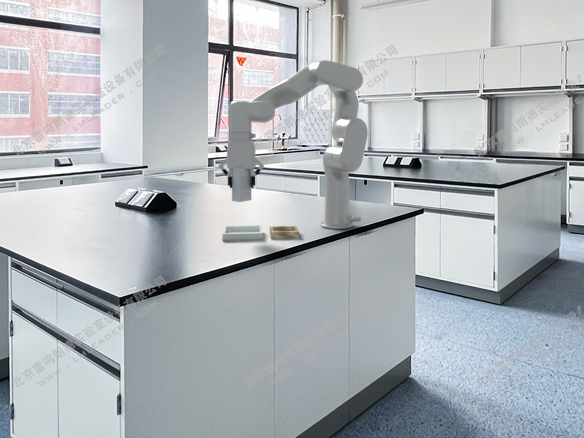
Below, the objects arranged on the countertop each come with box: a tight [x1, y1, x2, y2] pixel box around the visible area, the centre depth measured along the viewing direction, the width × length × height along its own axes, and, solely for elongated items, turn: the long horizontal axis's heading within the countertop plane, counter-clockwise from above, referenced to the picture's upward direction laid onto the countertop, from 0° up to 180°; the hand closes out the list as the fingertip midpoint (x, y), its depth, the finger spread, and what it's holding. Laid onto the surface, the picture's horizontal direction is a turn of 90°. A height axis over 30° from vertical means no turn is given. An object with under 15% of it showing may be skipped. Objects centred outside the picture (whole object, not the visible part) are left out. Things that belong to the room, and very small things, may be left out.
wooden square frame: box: [269, 225, 300, 240], centre depth 193 cm, size 10×10×2 cm
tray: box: [222, 225, 264, 242], centre depth 192 cm, size 14×14×2 cm
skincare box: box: [231, 168, 252, 203], centre depth 189 cm, size 6×4×12 cm
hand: (241, 187), depth 189 cm, fingers closed on skincare box, 7 cm apart
